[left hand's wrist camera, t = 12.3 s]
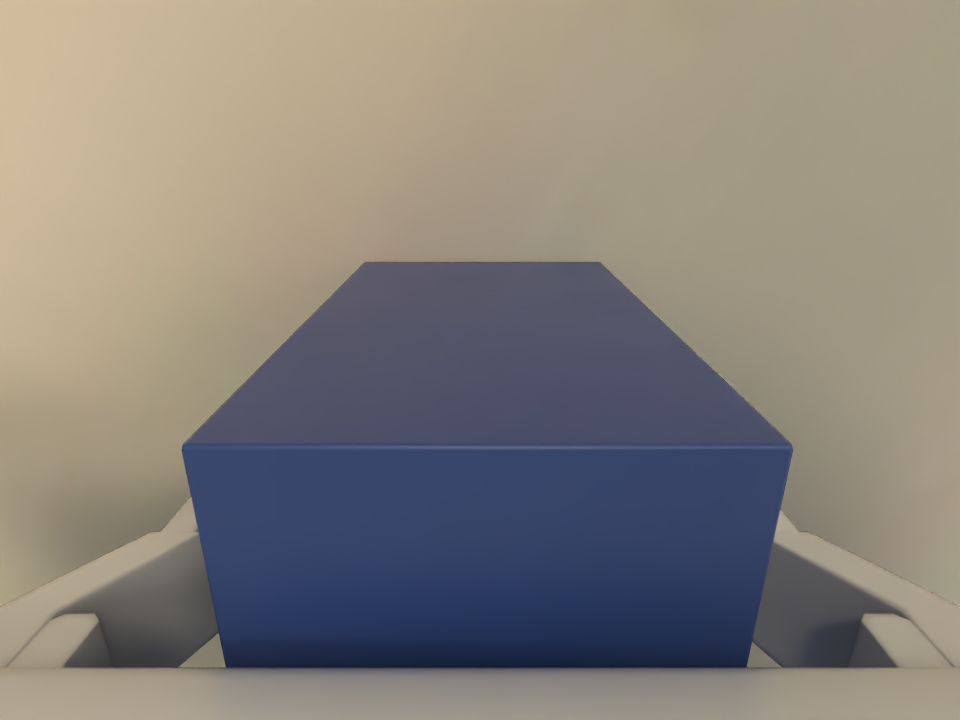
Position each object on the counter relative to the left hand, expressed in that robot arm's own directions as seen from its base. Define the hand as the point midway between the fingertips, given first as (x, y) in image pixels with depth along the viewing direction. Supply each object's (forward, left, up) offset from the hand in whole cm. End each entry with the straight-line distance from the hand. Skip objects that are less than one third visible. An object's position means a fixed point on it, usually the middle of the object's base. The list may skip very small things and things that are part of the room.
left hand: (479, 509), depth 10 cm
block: (+6, -5, -4) cm, 9 cm away
